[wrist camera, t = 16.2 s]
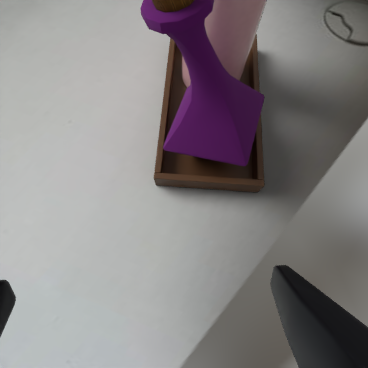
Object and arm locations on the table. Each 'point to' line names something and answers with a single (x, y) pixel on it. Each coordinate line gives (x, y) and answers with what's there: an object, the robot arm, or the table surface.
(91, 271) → the table surface
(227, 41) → the pink cylinder
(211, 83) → the perfume bottle
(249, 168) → the tray
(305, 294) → the robot arm
